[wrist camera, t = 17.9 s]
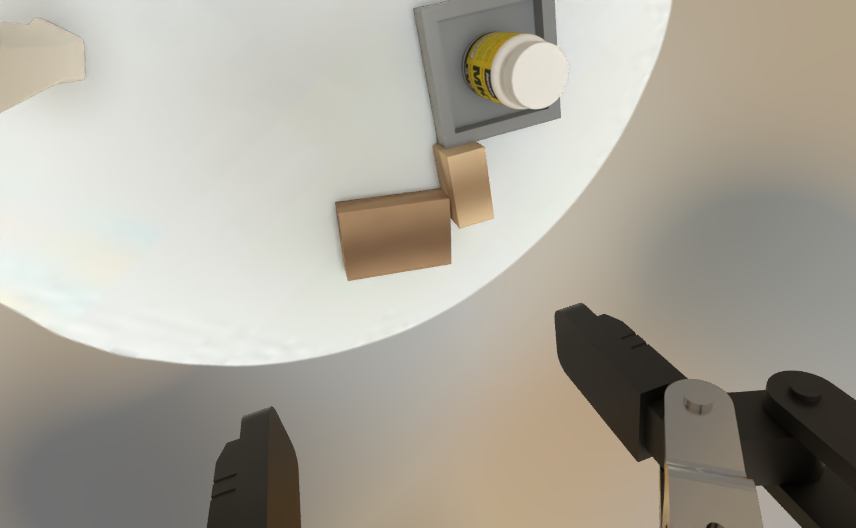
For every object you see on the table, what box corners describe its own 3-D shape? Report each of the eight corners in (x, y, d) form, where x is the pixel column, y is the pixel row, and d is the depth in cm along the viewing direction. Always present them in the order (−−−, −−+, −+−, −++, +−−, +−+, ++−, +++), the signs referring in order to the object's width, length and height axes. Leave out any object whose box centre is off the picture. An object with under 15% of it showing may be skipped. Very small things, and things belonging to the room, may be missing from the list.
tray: (413, 8, 35) (420, 8, 33) (540, -21, 36) (553, -23, 34) (438, 143, 40) (445, 149, 38) (549, 113, 41) (560, 117, 39)
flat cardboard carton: (334, 200, 40) (338, 213, 37) (439, 187, 42) (449, 198, 39) (343, 265, 43) (347, 280, 40) (441, 249, 44) (451, 263, 42)
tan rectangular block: (432, 145, 40) (447, 157, 36) (466, 136, 40) (484, 147, 36) (445, 211, 42) (459, 228, 39) (476, 202, 43) (494, 218, 39)
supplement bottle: (448, 64, 36) (490, 75, 29) (493, 16, 36) (548, 15, 29) (486, 110, 39) (534, 130, 32) (529, 66, 38) (588, 76, 31)
